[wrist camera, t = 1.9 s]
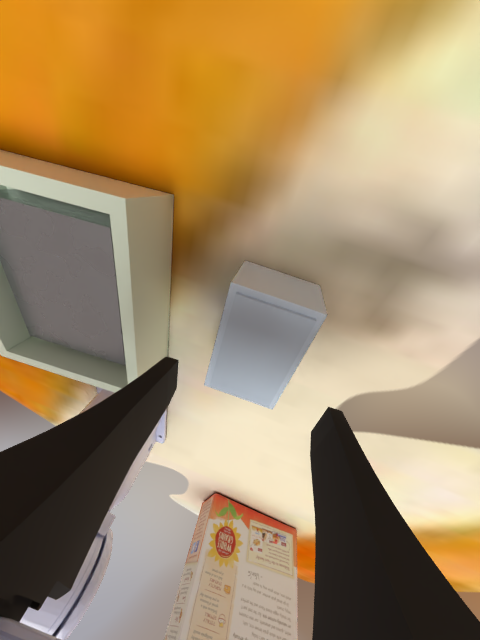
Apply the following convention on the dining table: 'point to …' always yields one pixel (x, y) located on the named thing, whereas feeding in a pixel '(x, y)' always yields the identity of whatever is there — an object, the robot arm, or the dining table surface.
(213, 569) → the cracker box
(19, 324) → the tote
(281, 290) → the pale grey box
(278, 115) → the dining table surface
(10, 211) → the tin block
